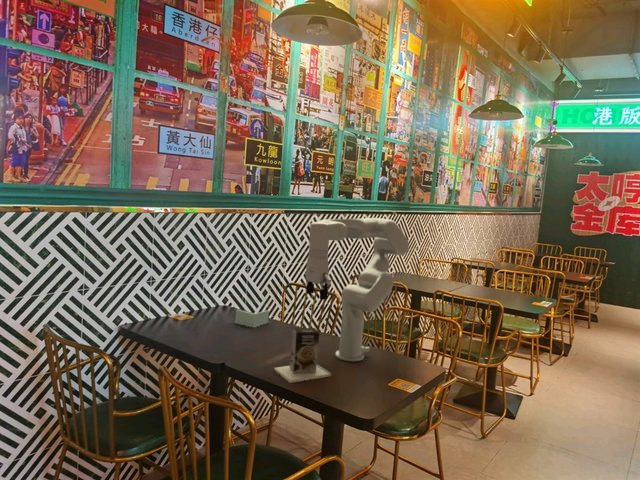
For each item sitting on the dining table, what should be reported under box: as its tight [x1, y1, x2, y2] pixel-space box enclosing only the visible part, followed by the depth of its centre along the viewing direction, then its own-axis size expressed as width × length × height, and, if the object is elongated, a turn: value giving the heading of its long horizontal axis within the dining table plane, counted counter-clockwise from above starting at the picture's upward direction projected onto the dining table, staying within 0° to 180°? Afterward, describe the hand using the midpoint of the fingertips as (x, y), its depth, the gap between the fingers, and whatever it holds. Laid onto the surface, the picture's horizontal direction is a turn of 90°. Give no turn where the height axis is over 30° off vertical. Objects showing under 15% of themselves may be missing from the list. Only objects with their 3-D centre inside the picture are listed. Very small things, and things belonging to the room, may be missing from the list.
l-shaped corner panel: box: [234, 309, 270, 329], centre depth 246 cm, size 12×12×8 cm
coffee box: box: [289, 327, 320, 374], centre depth 182 cm, size 9×6×16 cm
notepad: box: [273, 363, 332, 384], centre depth 183 cm, size 18×13×1 cm
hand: (316, 296), depth 188 cm, fingers open, 9 cm apart
